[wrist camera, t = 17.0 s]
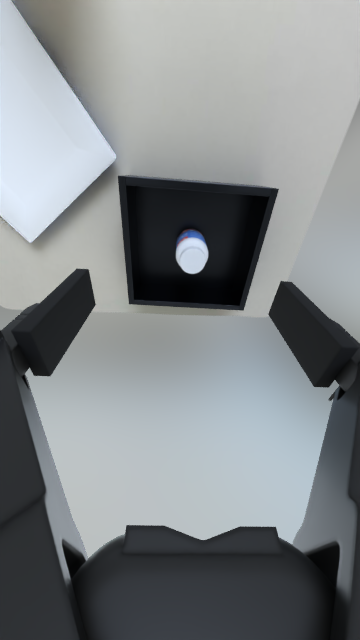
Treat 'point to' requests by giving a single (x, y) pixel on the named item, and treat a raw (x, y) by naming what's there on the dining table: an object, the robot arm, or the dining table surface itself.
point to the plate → (40, 133)
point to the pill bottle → (191, 251)
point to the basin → (200, 214)
